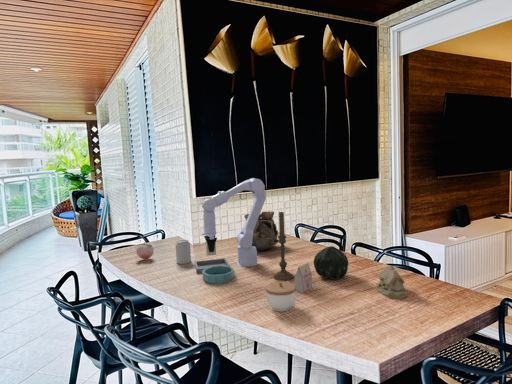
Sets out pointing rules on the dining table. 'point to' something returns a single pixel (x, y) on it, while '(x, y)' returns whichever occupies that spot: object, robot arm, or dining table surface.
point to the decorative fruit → (145, 251)
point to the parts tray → (210, 264)
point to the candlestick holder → (282, 252)
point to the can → (183, 252)
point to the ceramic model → (391, 284)
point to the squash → (331, 263)
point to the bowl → (218, 274)
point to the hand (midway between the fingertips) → (211, 250)
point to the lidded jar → (281, 295)
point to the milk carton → (303, 278)
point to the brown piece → (264, 231)
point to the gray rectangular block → (208, 250)
